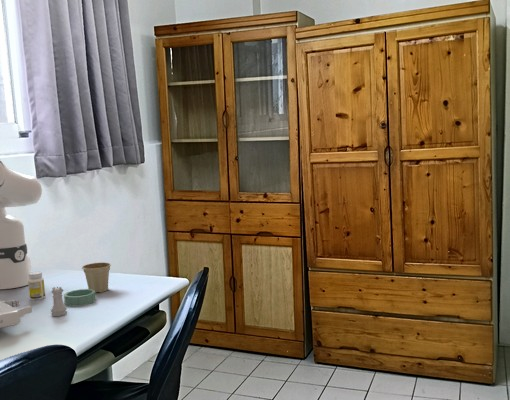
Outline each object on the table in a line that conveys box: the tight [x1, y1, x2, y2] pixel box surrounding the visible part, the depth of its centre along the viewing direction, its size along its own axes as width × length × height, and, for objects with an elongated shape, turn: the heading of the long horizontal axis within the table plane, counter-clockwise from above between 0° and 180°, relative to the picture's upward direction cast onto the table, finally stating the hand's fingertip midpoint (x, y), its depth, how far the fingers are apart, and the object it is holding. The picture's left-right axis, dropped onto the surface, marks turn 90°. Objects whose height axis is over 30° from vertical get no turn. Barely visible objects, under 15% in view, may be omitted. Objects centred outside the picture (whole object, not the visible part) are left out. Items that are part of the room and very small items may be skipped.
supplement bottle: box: [27, 271, 46, 301], centre depth 191 cm, size 5×5×8 cm
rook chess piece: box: [50, 286, 68, 317], centre depth 172 cm, size 4×4×8 cm
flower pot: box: [81, 261, 112, 294], centre depth 197 cm, size 9×9×9 cm
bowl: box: [63, 288, 97, 307], centre depth 185 cm, size 9×9×3 cm
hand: (24, 305), depth 166 cm, fingers open, 8 cm apart
